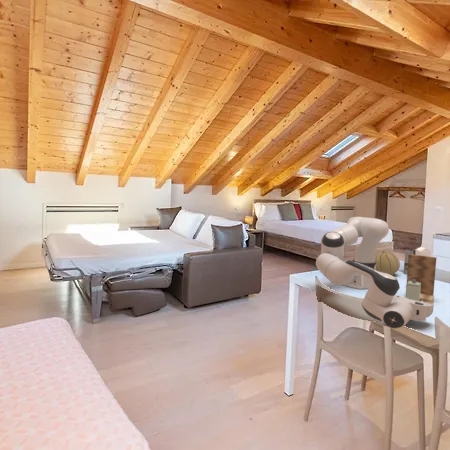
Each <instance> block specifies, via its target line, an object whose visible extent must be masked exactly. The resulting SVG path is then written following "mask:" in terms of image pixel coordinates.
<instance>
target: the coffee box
mask: <svg viewBox="0 0 450 450" xmlns="http://www.w3.org/2000/svg"><path fill="white" fill-rule="evenodd" d="M416 249H417V248H413V247H410V248H405V250H404V263H403V264H404V266H403V275H407V270H408V256H409V254H413V255H415V252H416Z"/></svg>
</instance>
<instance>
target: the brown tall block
mask: <svg viewBox="0 0 450 450" xmlns="http://www.w3.org/2000/svg"><path fill="white" fill-rule="evenodd" d="M436 268H437V257H436V256H431V257H429V256H421V255H413V254H409V256H408V270H407V274H406V283H405V284H406V286H405V289H406V288H407V283H408V282H409V281H412V280H413V279H415V280H416V282H419V283H421V290H420V300H422V301H423V302H426V303H431V304H433V303H434V302H435V301H434V300H435V295H434V292H435V282H436V281H435V280H436Z"/></svg>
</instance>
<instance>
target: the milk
mask: <svg viewBox="0 0 450 450" xmlns="http://www.w3.org/2000/svg"><path fill="white" fill-rule="evenodd" d="M415 249H416V252H415V255H421V256H429V257H432V256H431V255H432V253H431V250H429V249H427V246H426V245H424V244H423V243H421V244H420V247H418V248H415Z"/></svg>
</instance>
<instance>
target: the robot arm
mask: <svg viewBox="0 0 450 450" xmlns="http://www.w3.org/2000/svg"><path fill="white" fill-rule="evenodd" d="M389 231H390V229H389V224H388V223H387V222H386V221H384V220H383V219H380V218H374V217H367V216H364V217H363V216H353V217H349V219H348V220H347V222H346V224H345V225H341V226H339V227H337V228H335V229H332V230H330V231H329V232H328V231H327V232H326V233H325V234H324V235H323V236H322V237H321V239H320V244H321V248H320V252H321V253H320V255H318V256H317V257H316V260H315V267H316V268H317V269H318V271H319V272H320V274H322V276H324V277H325V278H326V279H327V280H328V281H329V282H331V283H332V284H334V285H337V286H345V287H349V288H353V289H356V290H364V289H367V291H366V293H365V295H364V297H363V299H362V302H361V307H362V309H363V310H364V312H365V313H366V314H367V316H369V317H371V318H373V319H374V320H376V321H379V322H382V323H383V324H384V325H385V326H386V327H388V328H389V329H401V328H403V327H405V326H406V325H407V324H408V323H409V322H410V321H412V320H413V321H422V322H423V321H426V320H427V318H429V317H430V316H432V314H434V313H433V312H434V306H435V305H434V304H433V303H432V304H431V303H426V302H423V301H422V300H419V301H416V300H411V299H408V298H406V296H405V297H404V296H400V295H397V293H398V291H399V289H400V288H401V287H400V283H399V280H398V279H397V277H396V276H394V275H393V274H391V275H390V274H387V273H383V272H381V271H378V270H376V261H375V260H376V257H377V249H378V247H379V244H380V242H381V241H382V240H383V239H384V238H386V237H387V236H388V234H389ZM358 238H362V239H361V242H360V243H359V244H357V245H355V248H354V258H353V259H352V260H351V259H349V260H347V261H344V259H345V258H344V257H345V248H347V247H348V246H351V245H354V244H355V243H357V242H358V240H359V239H358Z"/></svg>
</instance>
